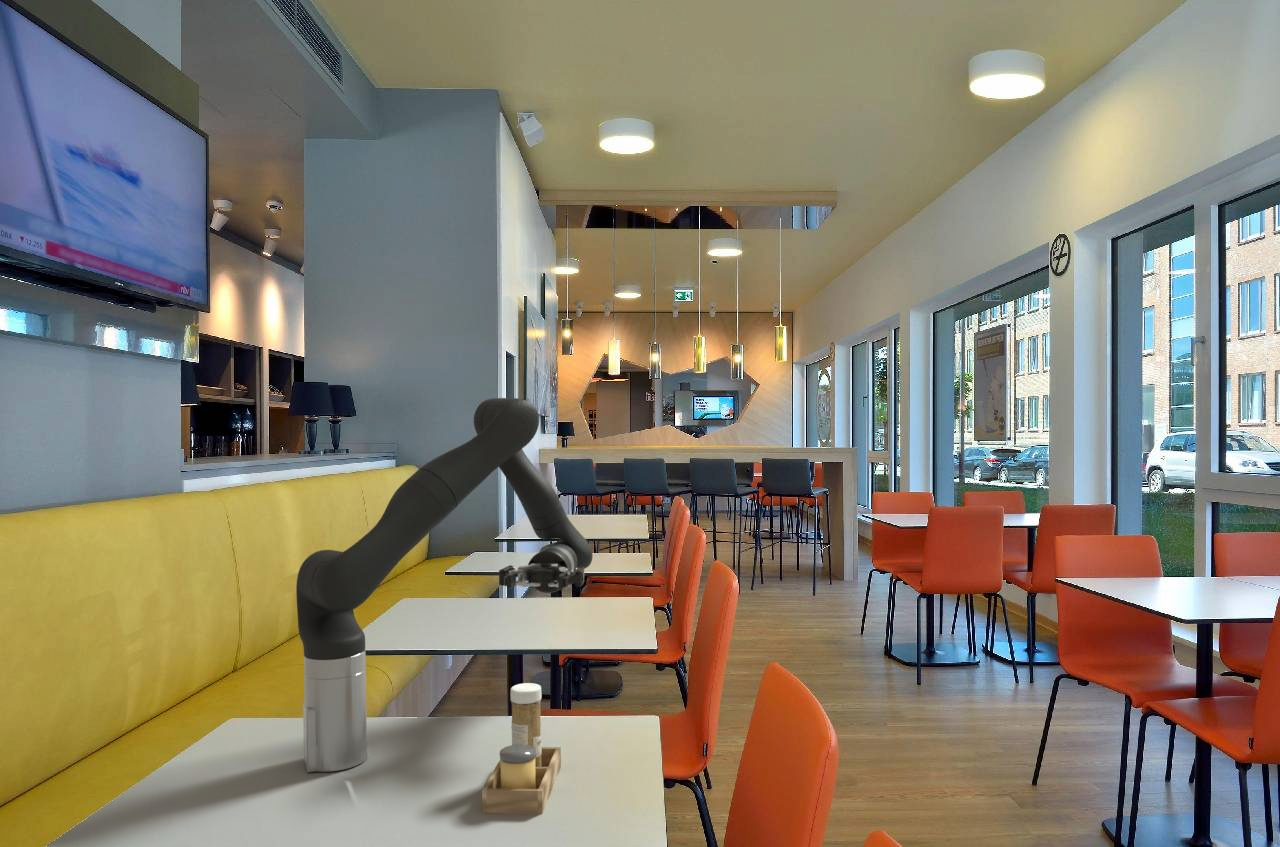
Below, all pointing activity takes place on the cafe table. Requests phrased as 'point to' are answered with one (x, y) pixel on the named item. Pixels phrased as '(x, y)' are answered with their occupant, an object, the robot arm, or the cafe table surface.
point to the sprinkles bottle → (527, 717)
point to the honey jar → (518, 767)
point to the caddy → (523, 798)
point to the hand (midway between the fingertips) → (534, 582)
